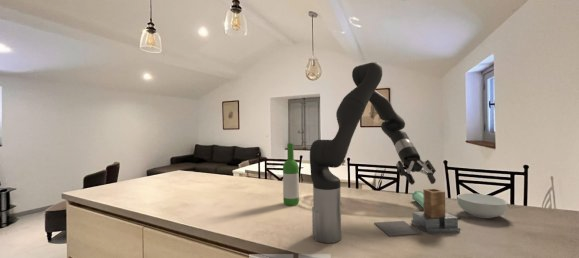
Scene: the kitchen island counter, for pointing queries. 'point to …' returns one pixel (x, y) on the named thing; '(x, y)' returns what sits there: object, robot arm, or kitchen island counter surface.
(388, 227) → the mat
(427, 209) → the sleeve
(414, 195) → the pale green hexagonal rod
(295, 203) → the wine bottle
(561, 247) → the kitchen island counter surface
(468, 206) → the cereal bowl
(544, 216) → the kitchen island counter surface
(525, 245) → the kitchen island counter surface
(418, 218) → the vise
